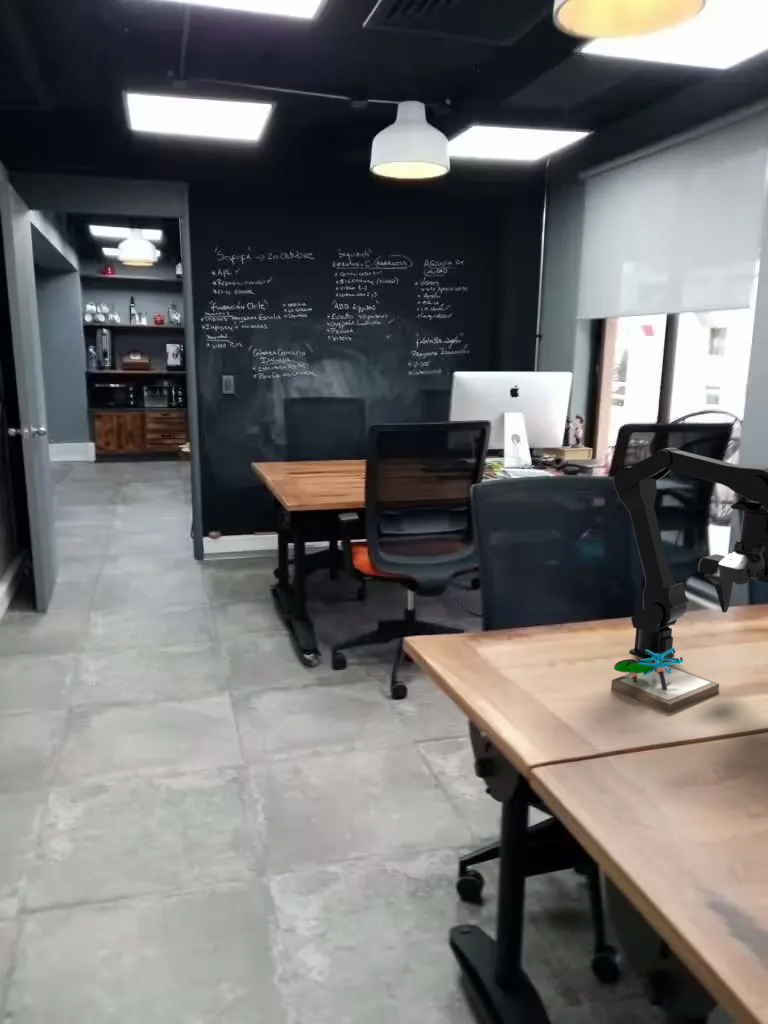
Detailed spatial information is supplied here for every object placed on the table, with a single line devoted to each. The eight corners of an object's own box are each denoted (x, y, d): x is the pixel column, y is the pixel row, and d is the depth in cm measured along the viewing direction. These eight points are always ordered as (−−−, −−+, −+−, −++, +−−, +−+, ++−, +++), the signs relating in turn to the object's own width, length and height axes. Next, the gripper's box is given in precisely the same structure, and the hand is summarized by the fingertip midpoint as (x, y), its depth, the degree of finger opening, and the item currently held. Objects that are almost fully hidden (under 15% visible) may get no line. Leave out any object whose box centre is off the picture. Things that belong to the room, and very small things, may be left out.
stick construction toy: (683, 658, 139) (676, 640, 133) (692, 694, 134) (685, 676, 129) (617, 670, 143) (608, 653, 138) (624, 705, 139) (614, 688, 133)
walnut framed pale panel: (611, 688, 139) (611, 679, 138) (660, 669, 147) (661, 661, 147) (668, 713, 129) (669, 703, 129) (718, 692, 138) (719, 683, 137)
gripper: (685, 532, 139) (677, 612, 142) (786, 553, 124) (775, 643, 127) (719, 525, 146) (710, 602, 149) (819, 545, 131) (808, 630, 134)
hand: (748, 619), depth 140 cm, fingers open, 9 cm apart
